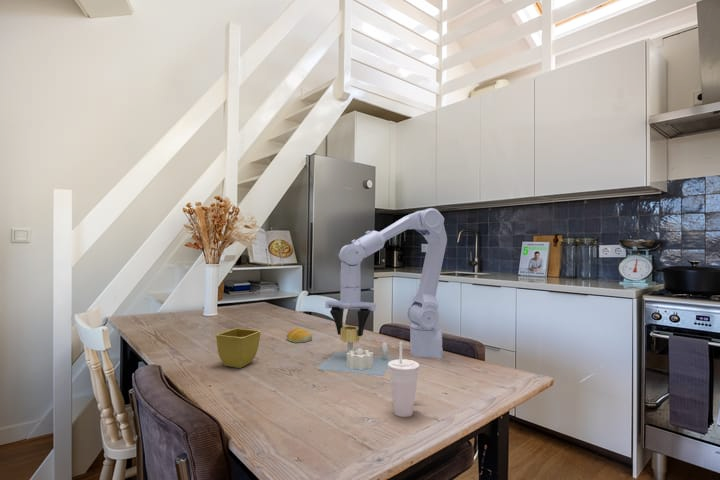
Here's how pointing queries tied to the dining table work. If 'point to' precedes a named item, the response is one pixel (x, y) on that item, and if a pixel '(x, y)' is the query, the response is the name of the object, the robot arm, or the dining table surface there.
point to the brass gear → (349, 334)
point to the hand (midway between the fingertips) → (350, 334)
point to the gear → (360, 360)
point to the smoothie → (403, 384)
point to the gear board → (340, 364)
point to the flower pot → (238, 346)
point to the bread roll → (299, 336)
